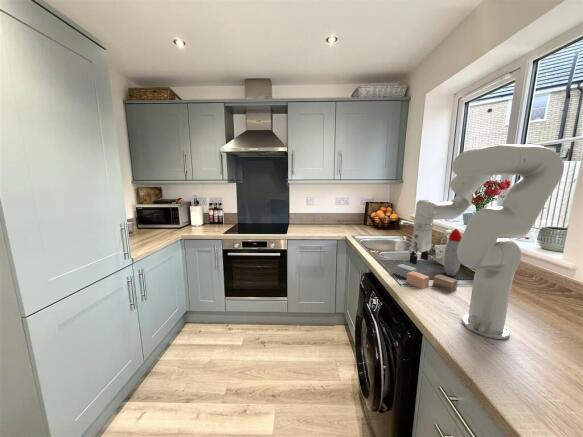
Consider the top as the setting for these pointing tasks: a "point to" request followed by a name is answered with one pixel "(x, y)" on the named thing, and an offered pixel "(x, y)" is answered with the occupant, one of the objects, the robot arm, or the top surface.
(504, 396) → the top surface
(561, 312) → the top surface
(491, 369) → the top surface
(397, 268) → the slate-grey brick
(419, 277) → the terracotta brick
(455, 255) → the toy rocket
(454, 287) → the walnut brick
